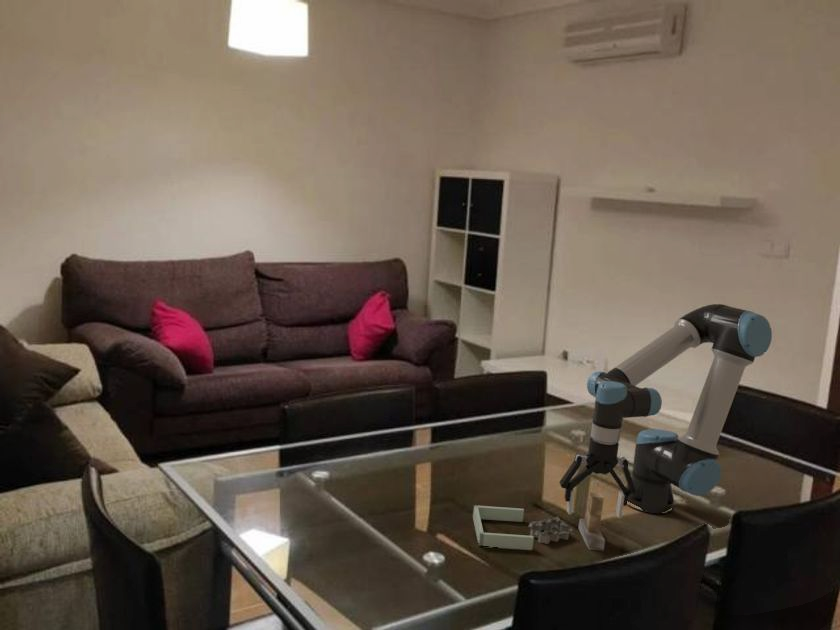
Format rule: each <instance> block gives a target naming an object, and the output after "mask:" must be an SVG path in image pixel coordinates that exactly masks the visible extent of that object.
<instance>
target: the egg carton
mask: <svg viewBox="0 0 840 630" xmlns="http://www.w3.org/2000/svg"><path fill="white" fill-rule="evenodd" d="M528 528H530V531H529V532H530V533H529V536H533V537H534V538H537V543H539V544H545V545H548V544H550V541H551V542H559V541H560V539H562V540H564V541H567V540H569V537H570V534H572V531H574V530H573V528H570V526H569V524H567V523H566V522H564V520H561V519H560V517H559V516H555V517H552V518H548V519H546V518H544V519H543V520H538V521H531V522H529V524H528ZM542 531H543V532H542Z"/></svg>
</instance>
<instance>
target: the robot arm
mask: <svg viewBox="0 0 840 630" xmlns="http://www.w3.org/2000/svg"><path fill="white" fill-rule="evenodd" d="M772 335H773V333H772V327H771V324H770V322H769V320H768V319H767V318H766V317H765V316H764V315H762V314H759V313H756V312H754V311H750V310H746V309H742V308H737V307H733V306H731V305H730V306H729V305H727V304H722V303H712V304H708V305H703V306H701V307H699V308H696V309H694V310H692V311H689V312H688V313H686V314H684V315H683V316H681V317H680V318H678V319H677V320H675V322H674V325H673V327H671V328H670V329H668V330H667V331H665V332H663V334H661V335H660V336H658V337H657V338H655V339H654V340H653V341H650V342H649V344H647V345H645V346H644V347H642V348H641V349H640V350H638V351H636V352H635V353H634V354H632V355H630V356H629V357H628V358H626V359H625V360H624V361H622V362H621V363H619V364H618V365H617V366H615V367H613V368H612V369H610V370H609V371H608V372H604V371H594V372H593V373H592V374H590V376H589V377H588V379H587V382H586V389H587V391H588V393H589V394H590V395H591V396H592V397H593V398H595V401H594V407H593V408H594V409H593V417H592V424H591V431H590V438H589V444H588V450H587V452H588V453H587V454H586V455H581V453H576V454H575V456H574V460H573V462H572V463H571V465H570V466H569V468H568V469H567V470H566V472H565V473H564V475H562V477H561V479H560V481H559V485H560V487H561V488H562V489H565V492H564V500H565V502H567V503H566V512H567V514H568V515H572V512H573V504H574V497H575V490H574V489H575V488H576V487H577V486H578V485H579V484H581V482H583V480H585V479H586V478H587V477H588V476H590V475H592V474H593V473H594V474H596V475H598V474H601V475H607V474H609V473H610V475H611V476H612V478H613V479H614V481H615V482H616V484H617V485H618V486H619V488H620V490H621V491H618V497H617V501H616V502H617V503H616V510H615V515H616V517H617V518H618V519H622V515H623V508H624V507H626V506H628V505H627V501H628V502H630V503H632V504H634V505H636V506H638V507H640V508H641V509H642V510H643V511H647V512H649V513H648V514H652V513H662V512H665V511H667V510H669V509H671V508H672V507H673V506H674V505H675V498H674V493H673V488H672V485H674V486H675V487H677V488H679V489H680V490H681V491H682V492H685V493H688V494H690V495H692V496H699V497H700V496H704V495H706V494H708V493H709V492H711V491H712V490H714V488H715V487H716V486H717V485H718V484H719V482H720V479H721V476H722V472H723V471H722V465H721V464H720V463H719V461H718V458H719V455H720V451H719V450H718V448H717V444H718V442H719V439H720V436H721V434H722V431H723V428H724V425H725V423H726V420H727V417H728V414H729V412H730V409H731V406H732V403H733V401H734V398H735V395H736V393H737V391H738V387H739V385H740V383H741V379H742V377H743V375H744V371H745V369H746V367H748V366H750V365H752V364H754V361H755V359H756V358H757V357H762V356H763V355H764V354H765V353H767V351H768V349H770V347H771V343H772V339H773V336H772ZM705 343H706V344H707V343H710V344H712V346H711V351H712V354H713V356H714V357H713V360H712V363H711V365H710V368H709V371H708V374H707V376H706V378H705V382H704V385H703V386H702V390H701V392H700V395H699V397H698V400H697V403H696V406H695V409H694V411H693V415H692V416H691V420H690V422H689V425H688V427H687V431H686V433H685V435H682V436H680V437H679V435H678V434H677V433H676V432H673V431H671V430H666V429H656V428H655V429H652V428H651V429H650V428H649V429H644V430H641V431H639V433H637V437H636V438H637V439H636V442H635V449H634V457H633V465H632V472H630V469H629V460H628V459H627V458H626V457H625V456H622V457H621V458H618V454H619V453H618V451H619V445H620V443H619V442H620V440H621V432H622V425H623V421H624V419H625V418H626V419H627V418H641V417H642V418H646V417H650V416H655V415H657V414H658V413H659V412H660V410H661V408H662V403H663V402H662V399H663V398H662V397H661V394H660V393H659V391H658V390H657V389H655V388H653V387H639V386H637V385H639V384H641V382H643V381H644V380H646V379H647V378H648V377H650V376H651V375H653V374H655V373H656V372H657V371H658V370H660V369H661V368H663V367H664V366H666V365H667V364H669V363H670V362H671V361H673V360H674V359H676V358H677V357H679V355H682V354H683V353H684V352H686V351H687V350H689V349H690V348H694V349H695V348H697V347H699V346H700V345H703V344H705ZM584 462H586V463H587V464H585V465H584V466H583V468H582V469H581V470H580V471H579V472H578V473H577V471H578V470H579V469H580V467H581V465H583V463H584ZM617 465H619V467H620V468H621V470H622V473H623V475H624V478H625V481H626V485H625V484H624V483H623V481H622V480H621V479H620V477H619V476H618V474H617V473H616V472H615V470H614V468H615V467H616V466H617ZM576 473H577V474H576ZM630 473H631V474H630ZM575 474H576V475H575ZM674 507H675V506H674ZM674 507H673V508H674Z"/></svg>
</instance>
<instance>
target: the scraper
mask: <svg viewBox="0 0 840 630" xmlns="http://www.w3.org/2000/svg"><path fill="white" fill-rule="evenodd" d="M604 498H605V497H604V495H603V494H602V492H595V491H594V492H593V491H590V492H589V498H588V504H587V511H586V512H587V513H586V518H579V522H578V530H579V532H580V534H581V537H582V538H583V541H584V543H585V545H586V547H587V549H588V550H591V551H602V552H603V551H605V544H606V539H605V538H604V536H603V534H602V532H601V531H600V529H601V528H600V527H601V521H602V514H603V508H604V507H603V505H604Z"/></svg>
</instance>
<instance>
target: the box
mask: <svg viewBox="0 0 840 630" xmlns="http://www.w3.org/2000/svg"><path fill="white" fill-rule="evenodd" d="M472 511H473V512H472V519H473V524H474V530H475V534H476V539H477V543H479V545H483V546H489V547H488V548H493V547H498V549H509V550H510V549H511V550H524V551H525V550H526V551H527V550H528V551H533V546H534V539H535V537H533V536H530V535H527V534H526V535H524V534H523V535H522V534H511V533H509V534H507V533H497V532H496V533H495V532H494V533H493V532H485V531H484V528H483V524H482V520H489V521H490V520H491V521H503V522H504V521H505V522H519V523H520V522H521V523H523V522H524V513H525V509H524V508H520V507H519V508H517V507H505V506H504V507H501V506H491V505H490V506H489V505H473V510H472ZM479 545H478V546H479Z"/></svg>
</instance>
